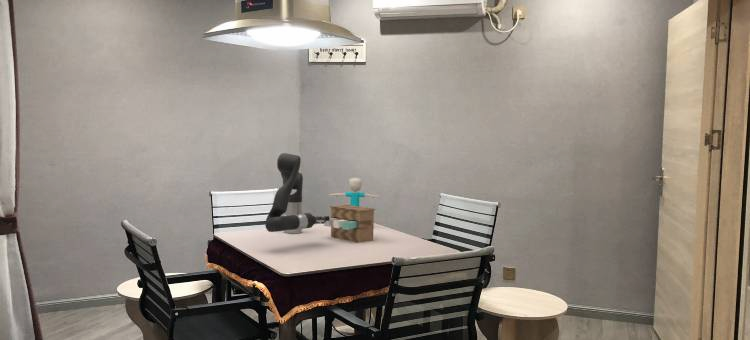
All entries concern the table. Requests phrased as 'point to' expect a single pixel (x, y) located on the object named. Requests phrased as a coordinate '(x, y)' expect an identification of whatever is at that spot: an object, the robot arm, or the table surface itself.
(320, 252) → the table surface
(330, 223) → the grey key
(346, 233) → the console
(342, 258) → the table surface
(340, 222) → the ivory key
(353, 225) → the teal key
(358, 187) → the toy
